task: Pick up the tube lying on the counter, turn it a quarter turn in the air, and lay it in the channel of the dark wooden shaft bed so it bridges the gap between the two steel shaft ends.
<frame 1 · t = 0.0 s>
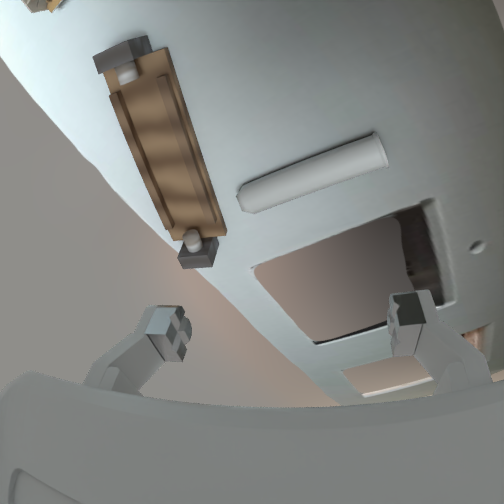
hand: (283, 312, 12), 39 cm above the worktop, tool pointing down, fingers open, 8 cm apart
shaft bed: (169, 153, 50), on the worktop
tube: (307, 168, 50), on the worktop
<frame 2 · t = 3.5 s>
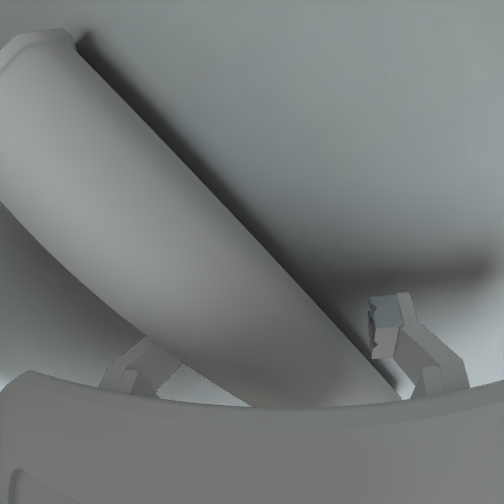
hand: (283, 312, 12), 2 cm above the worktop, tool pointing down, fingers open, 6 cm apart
tube: (263, 283, 14), on the worktop, touching gripper
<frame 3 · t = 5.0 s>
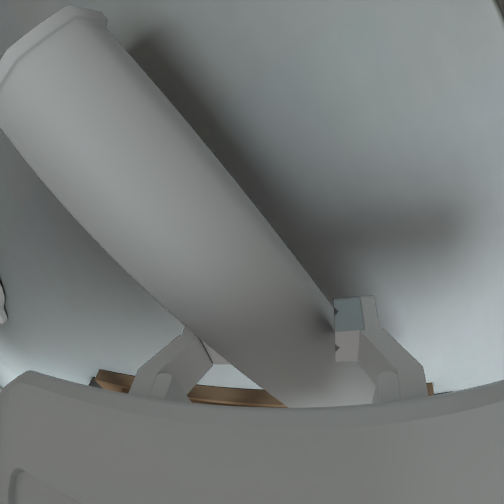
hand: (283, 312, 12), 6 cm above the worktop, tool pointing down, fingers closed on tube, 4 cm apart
shaft bed: (254, 412, 31), on the worktop
tube: (259, 269, 15), point 3 cm above the worktop, touching gripper
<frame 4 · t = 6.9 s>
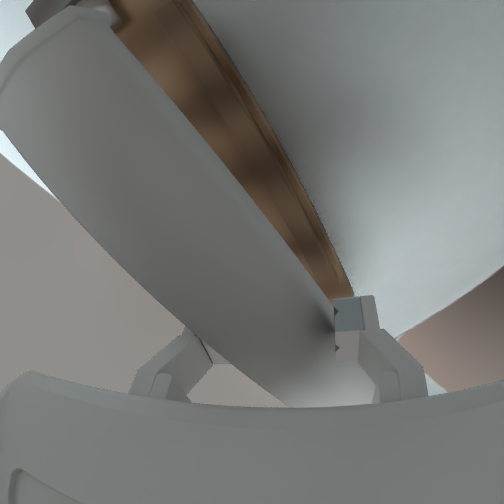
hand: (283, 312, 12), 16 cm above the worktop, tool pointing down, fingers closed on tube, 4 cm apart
shaft bed: (220, 169, 26), on the worktop
tube: (262, 271, 15), point 13 cm above the worktop, touching gripper
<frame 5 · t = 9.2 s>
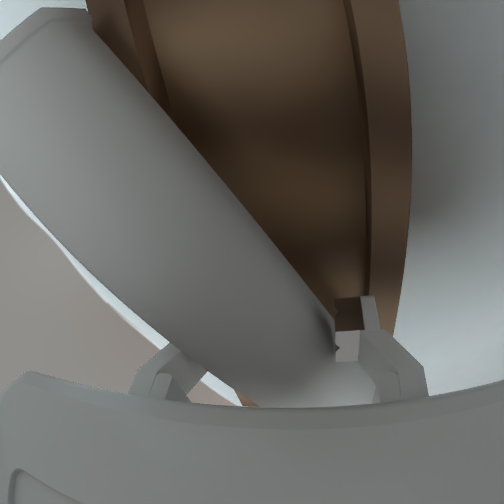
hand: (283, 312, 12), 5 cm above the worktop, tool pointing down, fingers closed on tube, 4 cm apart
shaft bed: (290, 229, 16), on the worktop
tube: (263, 281, 14), point 3 cm above the worktop, touching gripper, shaft bed
when the fingers open (5 cm above the worktop, at t = 10.0 s): tube stays where it is, resting on shaft bed.
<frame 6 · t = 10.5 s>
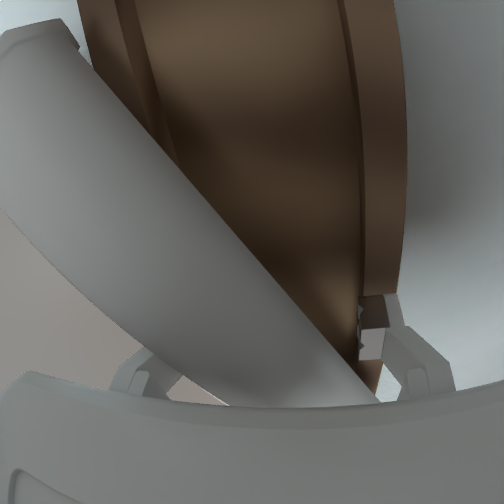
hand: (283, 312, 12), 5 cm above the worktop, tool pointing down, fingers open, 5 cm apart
shaft bed: (284, 232, 15), on the worktop
tube: (255, 285, 14), point 3 cm above the worktop, touching gripper, shaft bed
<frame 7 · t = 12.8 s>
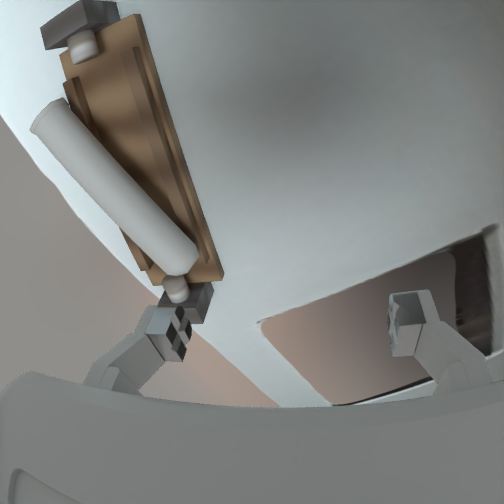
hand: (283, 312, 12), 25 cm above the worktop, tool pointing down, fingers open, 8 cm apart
shaft bed: (142, 164, 36), on the worktop
tube: (126, 181, 34), point 3 cm above the worktop, touching shaft bed
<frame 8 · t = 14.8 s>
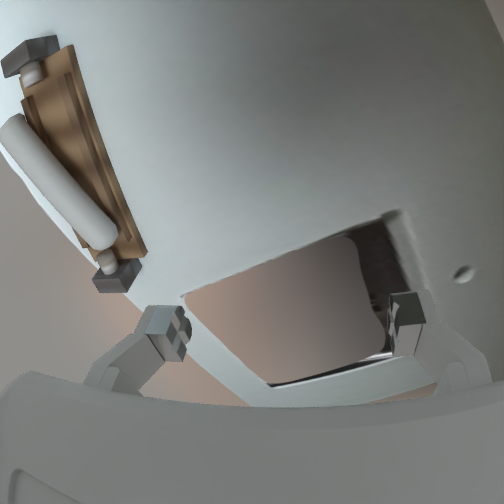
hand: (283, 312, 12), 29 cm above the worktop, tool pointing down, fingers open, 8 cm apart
shaft bed: (80, 162, 42), on the worktop
tube: (66, 176, 40), point 3 cm above the worktop, touching shaft bed
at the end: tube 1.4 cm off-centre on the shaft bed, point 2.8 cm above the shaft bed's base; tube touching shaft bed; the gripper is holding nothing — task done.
